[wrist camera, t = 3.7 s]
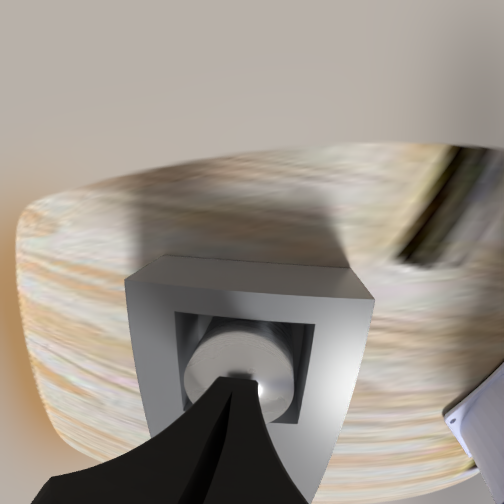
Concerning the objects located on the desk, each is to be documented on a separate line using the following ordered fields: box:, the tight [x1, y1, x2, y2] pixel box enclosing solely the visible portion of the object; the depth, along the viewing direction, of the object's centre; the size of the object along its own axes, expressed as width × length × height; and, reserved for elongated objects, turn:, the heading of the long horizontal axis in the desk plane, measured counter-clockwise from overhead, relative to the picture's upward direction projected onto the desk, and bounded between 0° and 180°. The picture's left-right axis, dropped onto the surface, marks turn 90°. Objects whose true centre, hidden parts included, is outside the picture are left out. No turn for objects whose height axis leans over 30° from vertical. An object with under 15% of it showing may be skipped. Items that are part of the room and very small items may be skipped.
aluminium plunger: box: [184, 316, 294, 424], centre depth 12 cm, size 4×4×4 cm
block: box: [124, 255, 375, 504], centre depth 14 cm, size 16×9×4 cm, turn 177°
